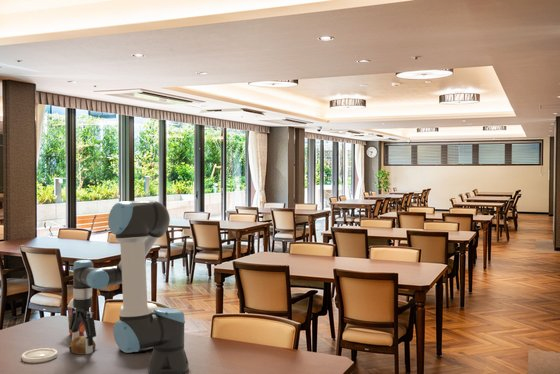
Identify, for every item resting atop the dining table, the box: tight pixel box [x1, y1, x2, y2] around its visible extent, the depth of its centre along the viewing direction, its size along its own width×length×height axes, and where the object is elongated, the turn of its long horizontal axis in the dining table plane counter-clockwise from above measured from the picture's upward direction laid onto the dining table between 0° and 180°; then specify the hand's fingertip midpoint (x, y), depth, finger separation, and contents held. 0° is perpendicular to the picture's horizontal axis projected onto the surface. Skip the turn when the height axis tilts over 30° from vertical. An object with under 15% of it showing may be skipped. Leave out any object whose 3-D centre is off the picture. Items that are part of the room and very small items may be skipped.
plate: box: [21, 347, 58, 364], centre depth 224 cm, size 13×13×2 cm
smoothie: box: [67, 297, 86, 337], centre depth 256 cm, size 8×8×20 cm
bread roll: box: [68, 335, 96, 355], centre depth 233 cm, size 10×10×8 cm
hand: (82, 350), depth 233 cm, fingers open, 10 cm apart
